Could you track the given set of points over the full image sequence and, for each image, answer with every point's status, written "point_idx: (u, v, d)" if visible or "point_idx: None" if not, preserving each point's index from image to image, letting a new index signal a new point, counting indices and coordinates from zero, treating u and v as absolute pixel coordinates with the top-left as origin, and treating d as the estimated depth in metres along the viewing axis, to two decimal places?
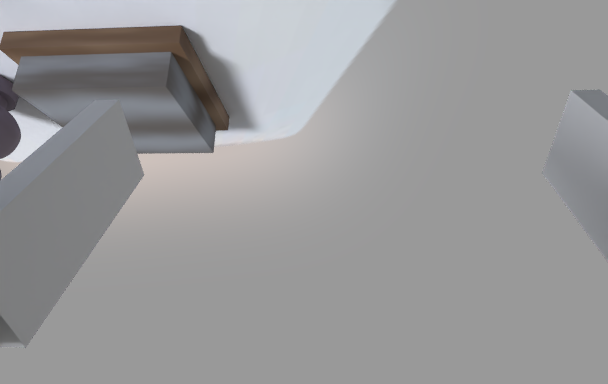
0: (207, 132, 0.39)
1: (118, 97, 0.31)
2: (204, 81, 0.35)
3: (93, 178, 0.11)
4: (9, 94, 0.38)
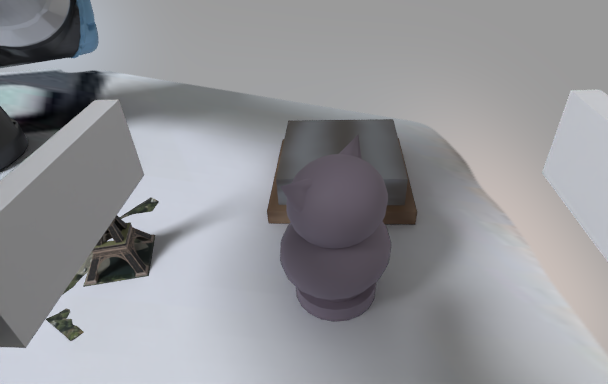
0: None
1: (296, 138, 0.44)
2: None
3: (93, 178, 0.11)
4: None
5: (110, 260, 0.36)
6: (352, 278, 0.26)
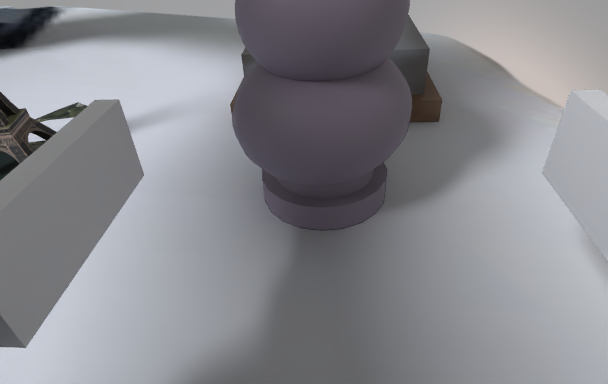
0: None
1: None
2: None
3: (93, 178, 0.11)
4: None
5: None
6: (350, 132, 0.15)
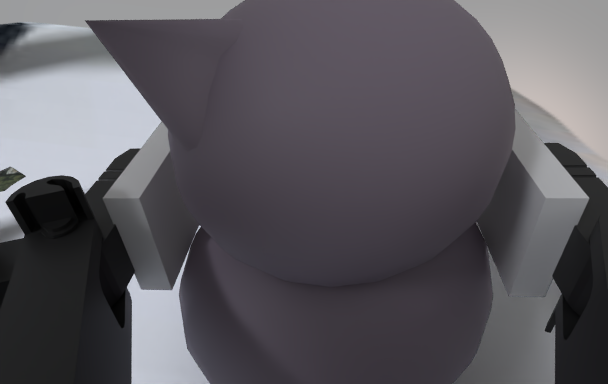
0: None
1: None
2: None
3: None
4: None
5: None
6: None
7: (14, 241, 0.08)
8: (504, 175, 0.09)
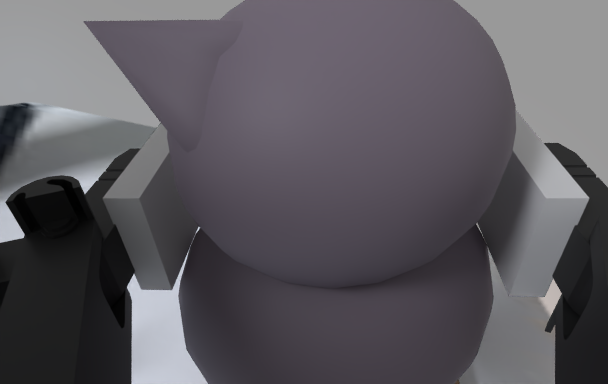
0: None
1: None
2: None
3: None
4: None
5: None
6: None
7: (14, 241, 0.08)
8: (504, 175, 0.09)
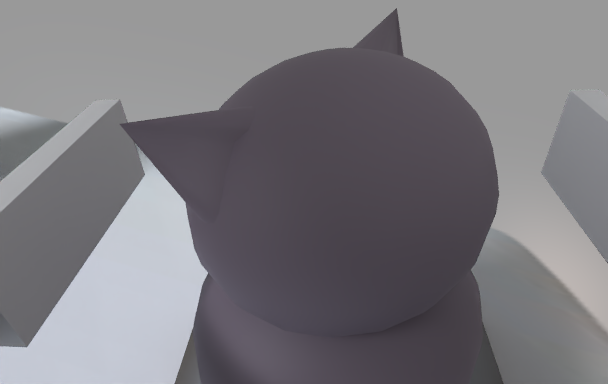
0: None
1: None
2: None
3: (94, 178, 0.11)
4: None
5: None
6: None
7: None
8: None
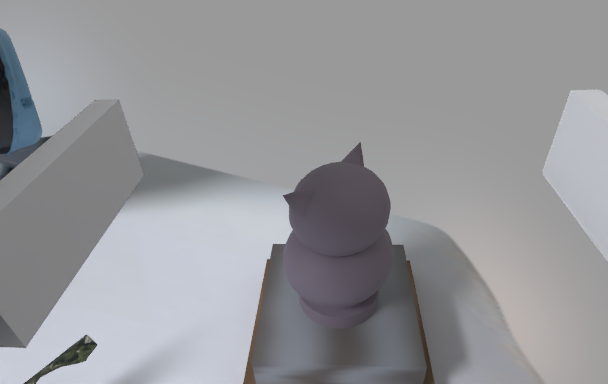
0: None
1: (281, 278, 0.35)
2: None
3: (93, 178, 0.11)
4: None
5: None
6: (355, 286, 0.26)
7: None
8: None
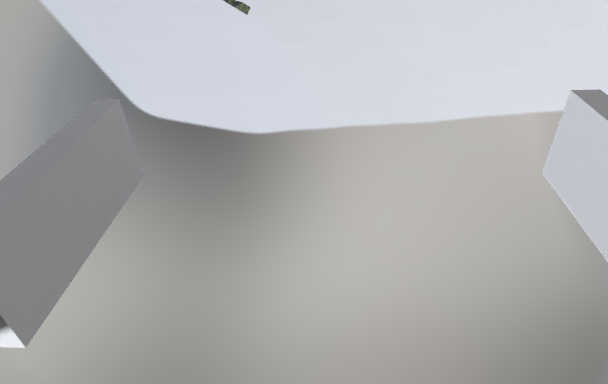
0: None
1: None
2: None
3: (93, 178, 0.11)
4: None
5: None
6: None
7: None
8: None
